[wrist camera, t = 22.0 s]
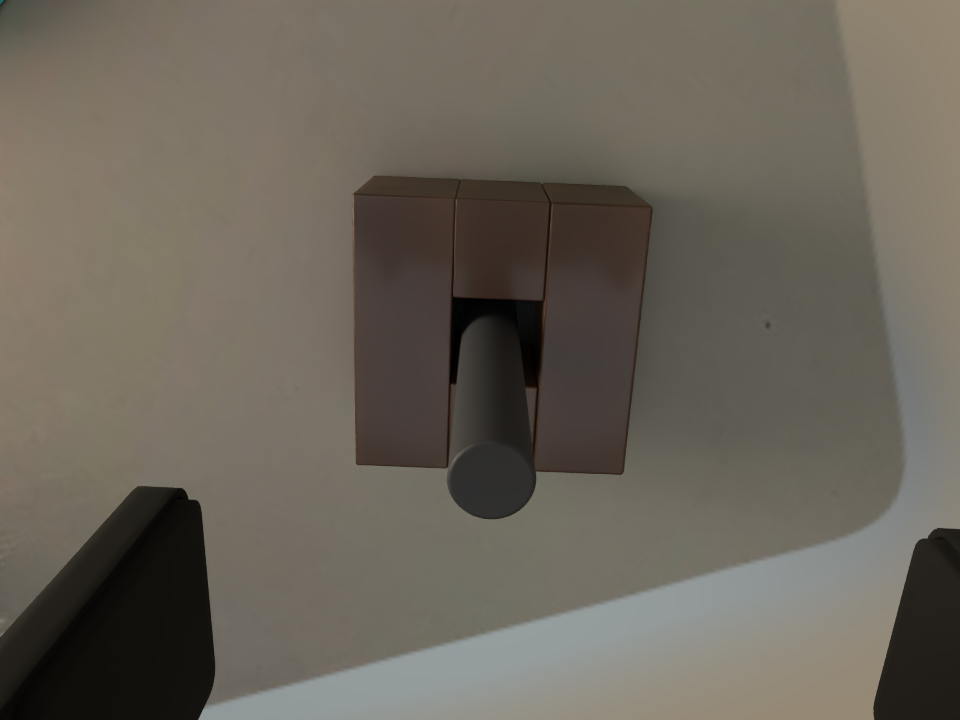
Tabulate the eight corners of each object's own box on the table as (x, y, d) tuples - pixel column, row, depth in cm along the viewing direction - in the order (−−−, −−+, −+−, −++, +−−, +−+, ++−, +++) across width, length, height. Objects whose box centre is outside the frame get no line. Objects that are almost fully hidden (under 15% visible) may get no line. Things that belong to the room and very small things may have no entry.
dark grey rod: (516, 282, 25) (538, 442, 14) (513, 332, 26) (533, 522, 15) (465, 281, 25) (447, 439, 14) (463, 330, 25) (445, 519, 15)
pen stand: (627, 186, 24) (653, 205, 20) (604, 419, 26) (623, 476, 23) (373, 175, 24) (351, 193, 20) (374, 410, 26) (355, 465, 23)
